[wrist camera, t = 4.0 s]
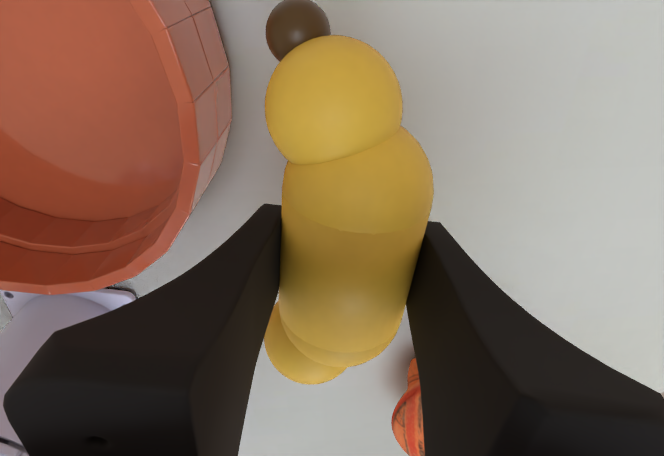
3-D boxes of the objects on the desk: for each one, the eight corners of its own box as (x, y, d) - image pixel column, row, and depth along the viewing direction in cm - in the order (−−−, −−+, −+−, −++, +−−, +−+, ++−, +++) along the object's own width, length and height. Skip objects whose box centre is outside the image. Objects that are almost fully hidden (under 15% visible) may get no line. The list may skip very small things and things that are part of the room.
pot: (361, 394, 30) (373, 485, 23) (426, 310, 27) (460, 386, 21) (453, 435, 31) (488, 530, 25) (522, 359, 29) (579, 443, 23)
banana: (379, 346, 17) (383, 439, 14) (267, 335, 17) (247, 425, 14) (458, 11, 10) (503, 45, 7) (271, -10, 10) (233, 15, 7)
